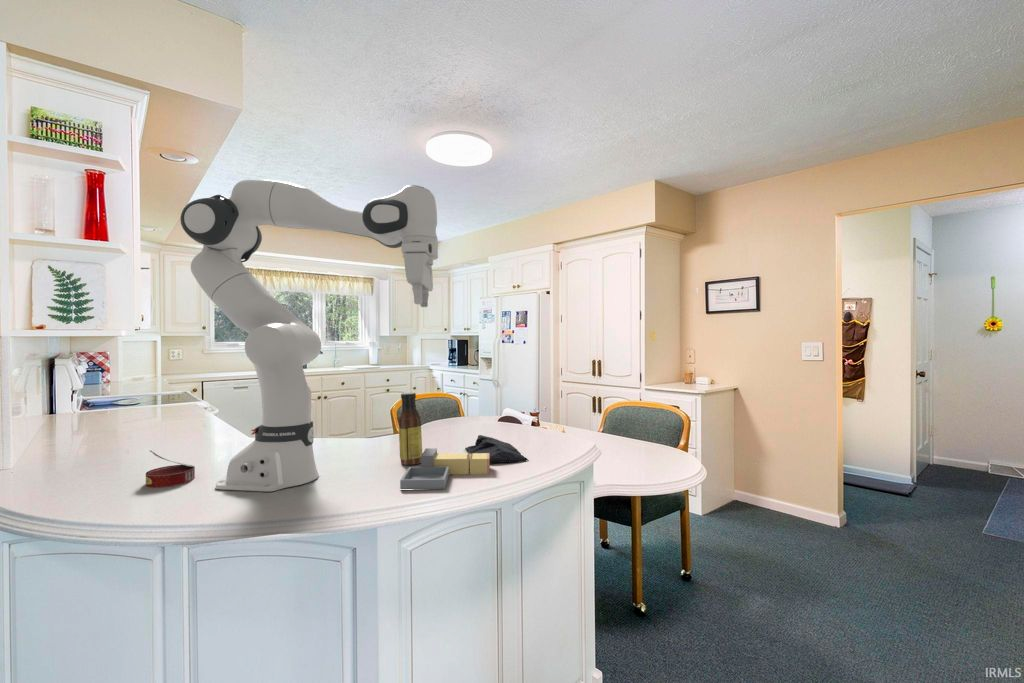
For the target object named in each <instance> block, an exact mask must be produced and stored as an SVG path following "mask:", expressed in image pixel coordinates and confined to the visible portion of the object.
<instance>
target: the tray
mask: <svg viewBox="0 0 1024 683" xmlns="http://www.w3.org/2000/svg"><path fill="white" fill-rule="evenodd" d="M404 472H405V473H404V474H403V475H402V476H401V478H400V480H399V486H400V487H399V488H400V489H445V490H446V488H445V487H447V484H448V481H449V478H450V475H449V466H433V467H421V466H409V467H408V468H407V469H406V470H405V471H404ZM448 477H449V478H448ZM447 480H448V481H447ZM446 483H447V484H446ZM400 489H399V490H400Z"/></svg>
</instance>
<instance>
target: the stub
mask: <svg viewBox="0 0 1024 683" xmlns="http://www.w3.org/2000/svg"><path fill="white" fill-rule="evenodd" d="M490 465H491V463H490V461H489V453H470V470H469V475H490V471H489V470H490Z"/></svg>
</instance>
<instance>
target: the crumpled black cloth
mask: <svg viewBox="0 0 1024 683" xmlns="http://www.w3.org/2000/svg"><path fill="white" fill-rule="evenodd" d="M464 450H465V451H466V452H468V453H470V454H471V453H489V461H490V464H495V463H520V462H519V461H524V462H527V461H526V460H528V461H529V459H528V458H527V457H525V456H524V455H523V454H522V453H521V452H520V451H519V450H518V449H517V448H516V447H515V446H513V445H512V444H511V443H508V442H505V441H502V440H500V439H498V438H497V439H496V438H494V437H490V436H486V435H482V434H479V435H477V439H476V440H475V443H474V445H471V446H467V447H465V448H464ZM521 454H522V455H521Z"/></svg>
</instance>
